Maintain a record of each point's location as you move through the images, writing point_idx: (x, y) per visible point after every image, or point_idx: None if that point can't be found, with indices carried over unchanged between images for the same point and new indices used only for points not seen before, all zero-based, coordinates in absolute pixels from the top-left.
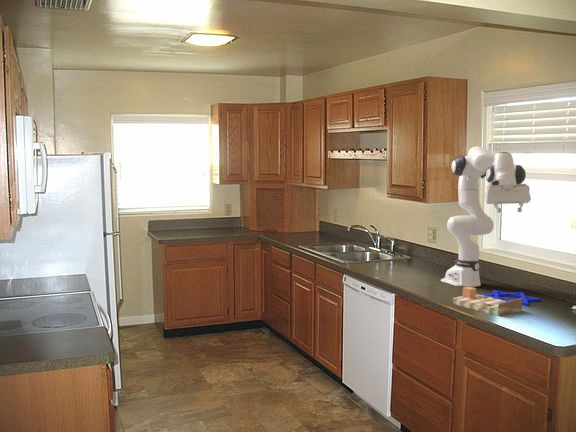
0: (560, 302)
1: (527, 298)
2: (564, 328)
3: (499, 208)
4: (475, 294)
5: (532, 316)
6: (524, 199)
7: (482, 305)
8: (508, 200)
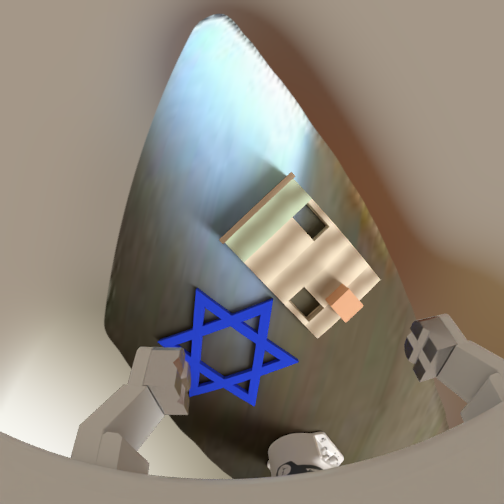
0: (122, 333)
1: (186, 352)
2: (168, 110)
3: (448, 343)
4: (327, 300)
5: (208, 191)
6: (33, 468)
7: (324, 213)
8: (374, 474)
